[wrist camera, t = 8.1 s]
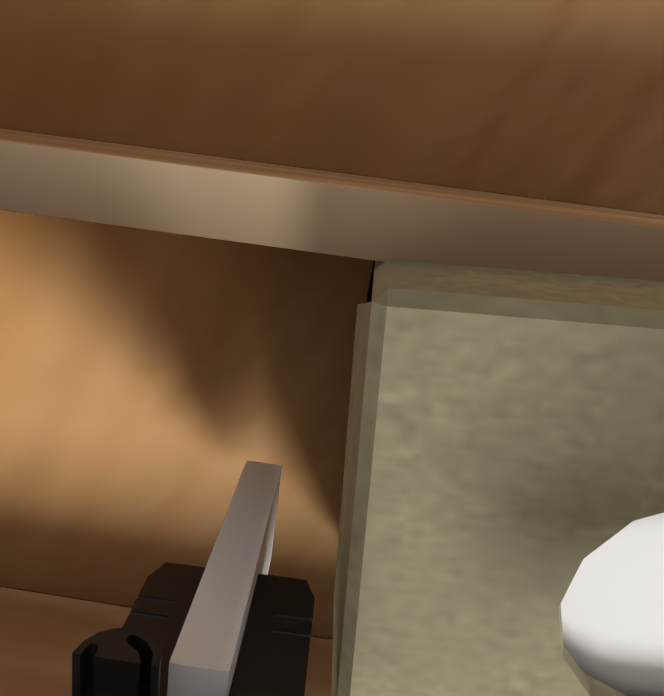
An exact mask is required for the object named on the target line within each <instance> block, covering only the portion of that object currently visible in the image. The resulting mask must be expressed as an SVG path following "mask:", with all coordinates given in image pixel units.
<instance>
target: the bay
mask: <svg viewBox="0 0 664 696" xmlns="http://www.w3.org/2000/svg"><path fill="white" fill-rule="evenodd" d="M0 210H7V211H14V212H21V213H29V214H36V215H43V216H51V217H58V218H65V219H73V220H80V221H88V222H95V223H102V224H110V225H117V226H124V227H132V228H139V229H146V230H154V231H161V232H169V233H176V234H183V235H191V236H198V237H205V238H213V239H220V240H227V241H235V242H242V243H250V244H257V245H264V246H272V247H279V248H286V249H294V250H301V251H308V252H316V253H323V254H331V255H338V256H345V257H353V258H360V259H367V260H375V261H382V262H385V261H387V260H398V261H411V262H424V263H436V264H449V265H462V266H474V267H487V268H500V269H513V270H525V271H538V272H551V273H563V274H576V275H589V276H602V277H614V278H627V279H640V280H652V281H664V215H659V214H651V213H643V212H636V211H628V210H620V209H613V208H605V207H597V206H590V205H582V204H574V203H567V202H559V201H551V200H544V199H536V198H529V197H521V196H513V195H506V194H498V193H490V192H483V191H475V190H467V189H460V188H452V187H444V186H437V185H429V184H421V183H414V182H406V181H399V180H391V179H383V178H376V177H368V176H360V175H353V174H345V173H337V172H330V171H322V170H314V169H307V168H299V167H291V166H284V165H276V164H269V163H261V162H253V161H246V160H238V159H230V158H223V157H215V156H207V155H200V154H192V153H184V152H177V151H169V150H161V149H154V148H146V147H138V146H131V145H123V144H116V143H108V142H100V141H93V140H85V139H77V138H70V137H62V136H54V135H47V134H39V133H31V132H24V131H16V130H8V129H1V128H0ZM131 609H132V608H130V607H124V606H117V605H111V604H105V603H98V602H92V601H86V600H80V599H73V598H67V597H61V596H54V595H48V594H42V593H36V592H29V591H23V590H17V589H11V588H4V587H0V696H72V653H73V651H74V650H75V649H76V648H77V647H78V646H79V645H80V644H81V643H82V642H83V641H84V640H86V639H88V638H89V637H91V636H93V635H95V634H96V633H98V632H102V631H106V630H110V629H113V628H122V627H123V625H124V623H125V621H126V619H127V617H128V615H130V612H131ZM332 653H333V640H331V639H325V638H318V637H312V636H310V646H309V656H308V666H307V675H306V685H305V695H304V696H332Z"/></svg>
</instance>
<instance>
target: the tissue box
mask: <svg viewBox="0 0 664 696" xmlns="http://www.w3.org/2000/svg"><path fill="white" fill-rule="evenodd" d="M332 696H664V281H652V280H640V279H627V278H614V277H602V276H589V275H576V274H563V273H551V272H538V271H525V270H513V269H500V268H487V267H474V266H462V265H449V264H436V263H424V262H411V261H398V260H387V261H385V262H382V261H375V260H374V262H373V268H372V273H371V279H370V284H369V290H368V295H367V301H366V303H362V304H358V305H357V315H356V327H355V340H354V352H353V365H352V377H351V389H350V402H349V414H348V427H347V439H346V452H345V464H344V477H343V489H342V502H341V514H340V527H339V539H338V552H337V564H336V576H335V589H334V608H333V653H332Z"/></svg>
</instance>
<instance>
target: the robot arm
mask: <svg viewBox="0 0 664 696" xmlns="http://www.w3.org/2000/svg"><path fill="white" fill-rule="evenodd" d="M281 469H282V465H276V464H269V463H261V462H254V461H246V464H245V467H244V469H243V472H242V474H241V477H240V480H239V482H238V485H237V487H236V490H235V493H234V495H233V498H232V500H231V503H230V506H229V508H228V511H227V513H226V516H225V519H224V521H223V524H222V526H221V529H220V532H219V534H218V537H217V539H216V542H215V545H214V547H213V550H212V552H211V555H210V558H209V560H208V563H207V565H206V568H204V567H197V566H190V565H183V564H176V563H168V562H166V563H165V564H163V565H162V566H161V567H160V568H158V569H157V570H156V571H155V572H153V573H152V574H151V575H150V576H149V577H148V578H147V580H146V582H145V584H144V586H143V588H142V590H141V592H140V594H139V596H138V599H136V601H135V603H134V605H133V607H132V609H131V612H130V615H128V617H127V619H126V621H125V623H124V625H123V627H122V628H113V629H110V630H106V631H102V632H98V633H96V634H95V635H93V636H91V637H89V638H88V639H86V640H84V641H83V642H82V643H81V644H80V645H79V646H78V647H77V648H76V649H75V650H74V651H73V653H72V696H304V695H305V685H306V675H307V666H308V656H309V646H310V636H311V627H312V617H313V608H314V596H313V594H312V592H311V590H310V587H309V585H308V583H307V581H306V580H302V579H295V578H287V577H280V576H273V575H268V571H269V566H270V562H271V556H272V547H273V539H274V530H275V521H276V512H277V504H278V495H279V486H280V477H281Z"/></svg>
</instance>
